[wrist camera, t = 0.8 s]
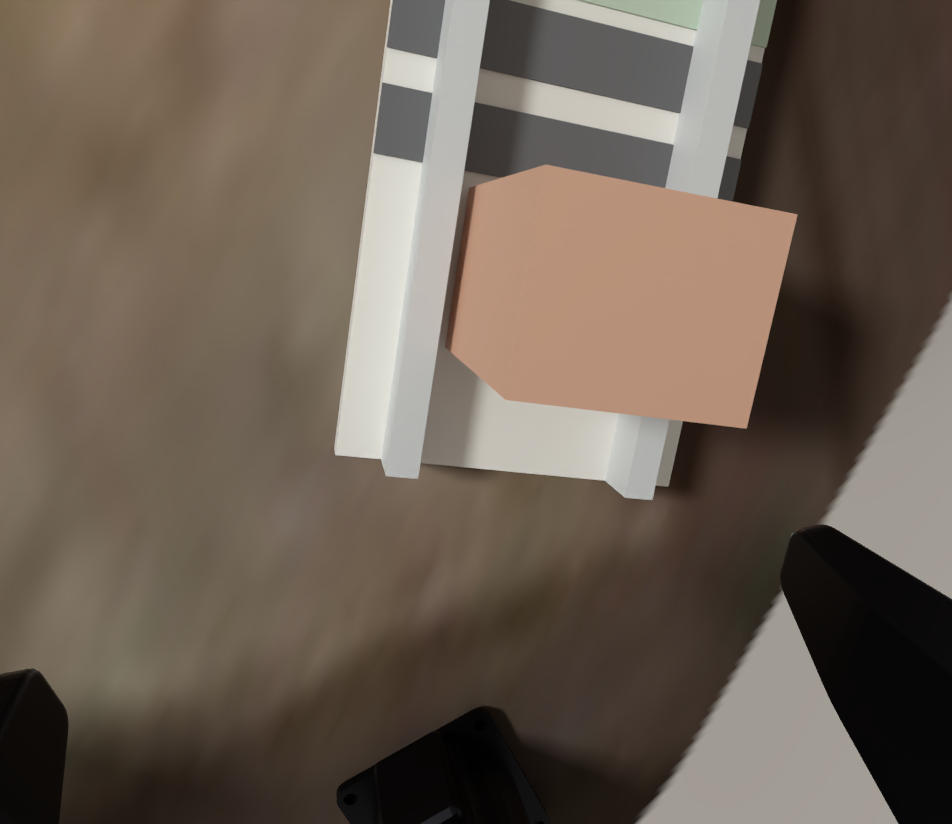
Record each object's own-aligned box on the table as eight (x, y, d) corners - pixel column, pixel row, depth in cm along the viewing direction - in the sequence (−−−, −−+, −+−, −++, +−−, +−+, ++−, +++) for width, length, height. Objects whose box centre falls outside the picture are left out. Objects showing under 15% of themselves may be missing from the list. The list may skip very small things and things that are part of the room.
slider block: (617, 370, 25) (746, 428, 18) (444, 347, 24) (505, 400, 16) (647, 220, 24) (797, 214, 17) (469, 187, 23) (545, 164, 15)
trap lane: (656, 478, 28) (762, 554, 22) (334, 446, 25) (341, 522, 19) (792, -150, 24) (975, -298, 17) (424, -272, 21) (475, -504, 15)
